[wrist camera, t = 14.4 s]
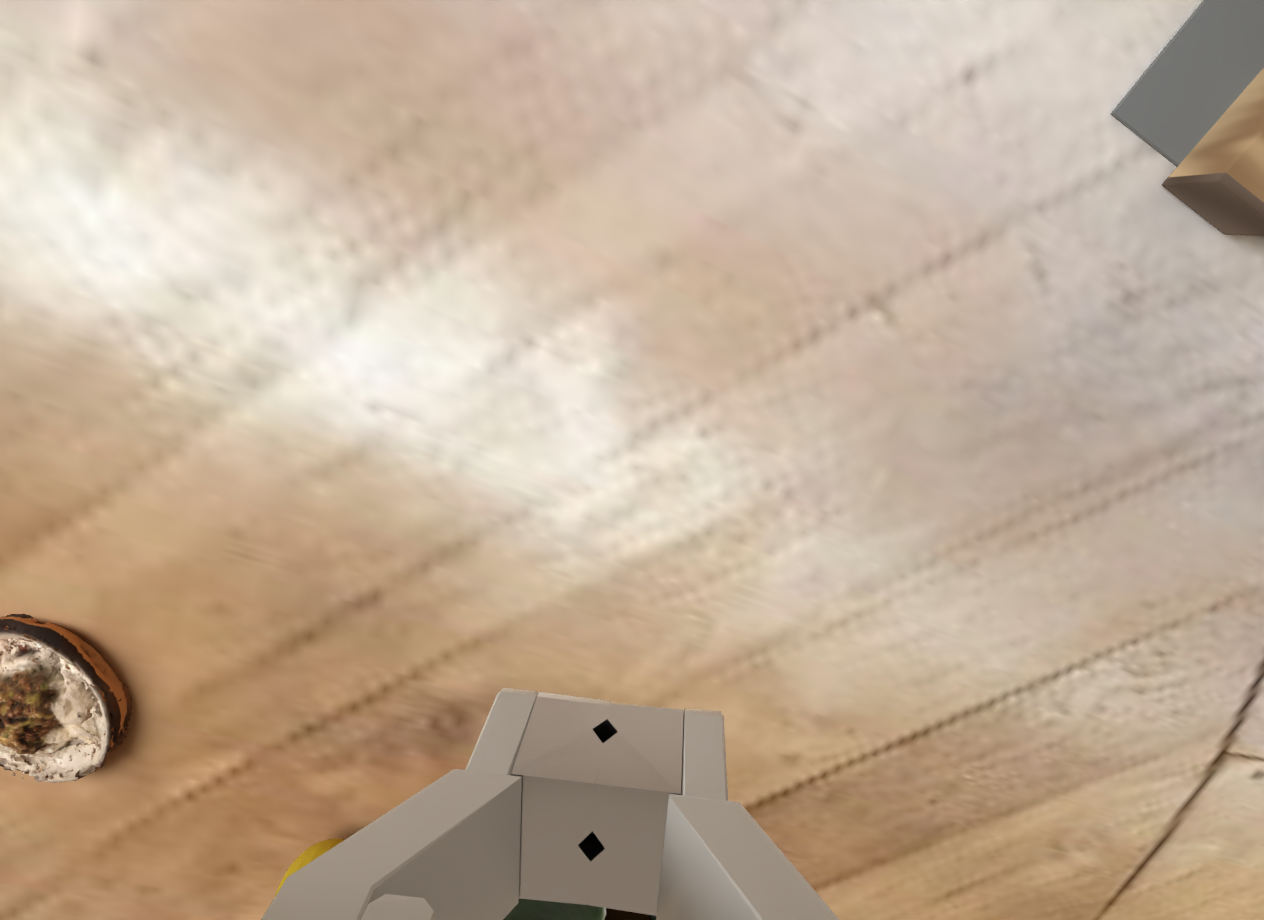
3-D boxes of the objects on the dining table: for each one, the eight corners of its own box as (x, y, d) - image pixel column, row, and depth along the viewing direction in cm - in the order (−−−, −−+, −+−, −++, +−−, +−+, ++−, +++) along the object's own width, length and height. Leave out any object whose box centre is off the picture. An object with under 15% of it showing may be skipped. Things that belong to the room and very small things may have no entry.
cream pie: (-68, 572, 49) (-136, 603, 45) (150, 616, 48) (102, 652, 44) (-41, 752, 53) (-100, 794, 49) (158, 793, 53) (115, 840, 49)
